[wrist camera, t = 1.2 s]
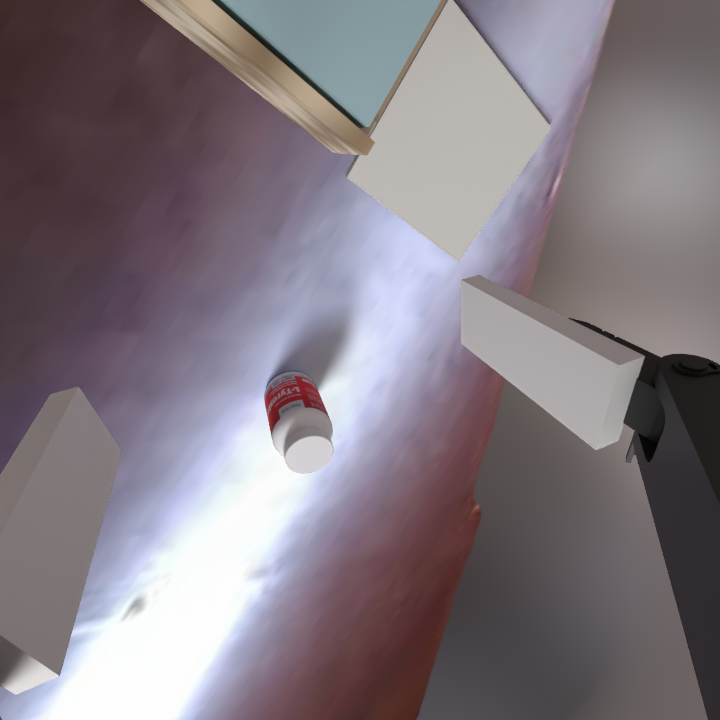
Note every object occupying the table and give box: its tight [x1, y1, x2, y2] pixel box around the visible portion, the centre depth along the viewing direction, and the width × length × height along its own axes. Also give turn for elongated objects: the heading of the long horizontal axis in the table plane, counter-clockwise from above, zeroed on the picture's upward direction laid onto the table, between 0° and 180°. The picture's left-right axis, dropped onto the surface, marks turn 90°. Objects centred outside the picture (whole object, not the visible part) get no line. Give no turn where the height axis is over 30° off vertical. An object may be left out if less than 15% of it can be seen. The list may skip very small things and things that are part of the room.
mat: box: [345, 0, 551, 262], centre depth 38 cm, size 16×16×1 cm
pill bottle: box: [264, 371, 333, 473], centre depth 40 cm, size 6×6×11 cm
